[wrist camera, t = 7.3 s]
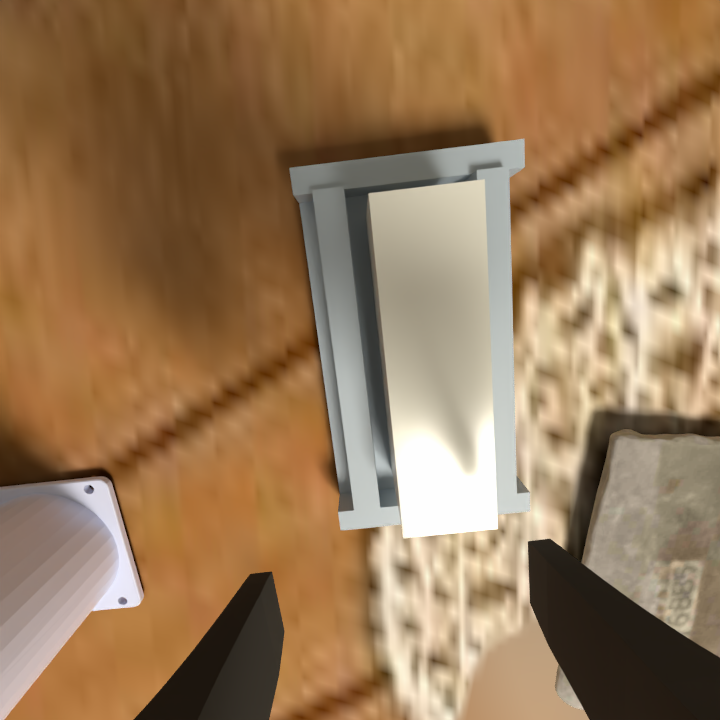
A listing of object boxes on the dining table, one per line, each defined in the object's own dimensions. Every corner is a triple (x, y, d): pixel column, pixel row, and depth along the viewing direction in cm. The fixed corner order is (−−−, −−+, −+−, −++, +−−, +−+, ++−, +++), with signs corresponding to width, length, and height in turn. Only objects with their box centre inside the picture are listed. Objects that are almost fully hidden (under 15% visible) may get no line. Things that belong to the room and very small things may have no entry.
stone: (715, 707, 22) (561, 734, 21) (672, 657, 25) (533, 679, 24) (813, 436, 17) (615, 454, 16) (745, 410, 20) (572, 425, 19)
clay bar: (461, 462, 18) (497, 528, 14) (391, 470, 19) (403, 538, 14) (446, 209, 16) (484, 179, 11) (365, 219, 16) (368, 193, 11)
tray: (343, 499, 20) (340, 537, 17) (299, 184, 17) (286, 164, 14) (508, 482, 20) (535, 518, 17) (499, 159, 16) (530, 133, 13)
